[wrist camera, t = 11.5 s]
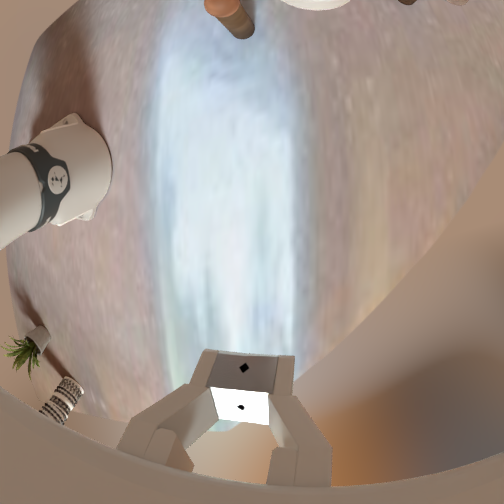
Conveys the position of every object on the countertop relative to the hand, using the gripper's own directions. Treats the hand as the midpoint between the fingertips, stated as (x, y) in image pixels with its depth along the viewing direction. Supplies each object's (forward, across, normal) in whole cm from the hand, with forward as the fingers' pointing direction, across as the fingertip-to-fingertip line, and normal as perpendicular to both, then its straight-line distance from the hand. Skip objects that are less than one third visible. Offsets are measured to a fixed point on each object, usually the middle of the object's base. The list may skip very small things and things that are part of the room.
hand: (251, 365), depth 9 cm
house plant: (+31, +68, +37) cm, 84 cm away
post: (+31, +5, -20) cm, 37 cm away
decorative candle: (+31, +69, +62) cm, 98 cm away
